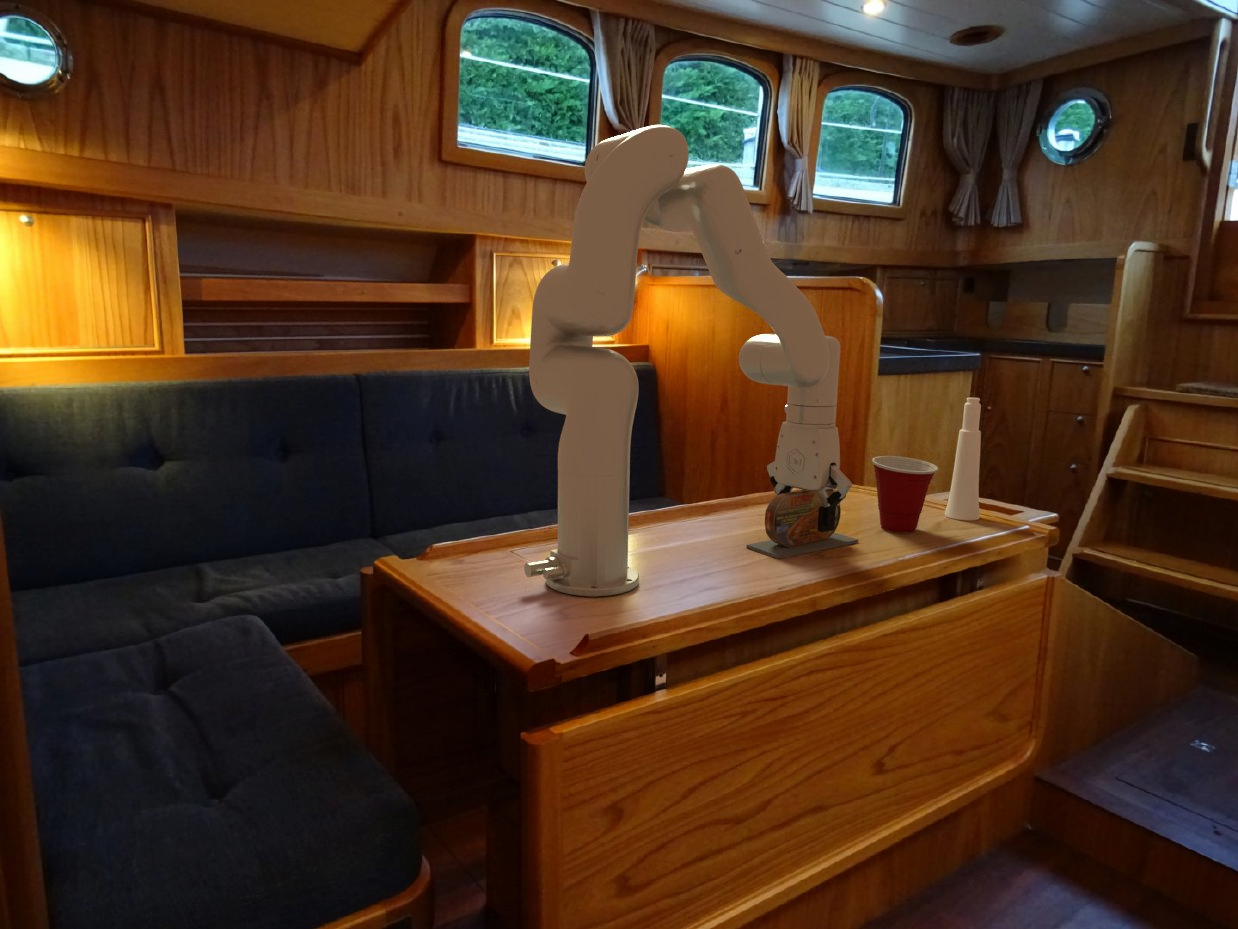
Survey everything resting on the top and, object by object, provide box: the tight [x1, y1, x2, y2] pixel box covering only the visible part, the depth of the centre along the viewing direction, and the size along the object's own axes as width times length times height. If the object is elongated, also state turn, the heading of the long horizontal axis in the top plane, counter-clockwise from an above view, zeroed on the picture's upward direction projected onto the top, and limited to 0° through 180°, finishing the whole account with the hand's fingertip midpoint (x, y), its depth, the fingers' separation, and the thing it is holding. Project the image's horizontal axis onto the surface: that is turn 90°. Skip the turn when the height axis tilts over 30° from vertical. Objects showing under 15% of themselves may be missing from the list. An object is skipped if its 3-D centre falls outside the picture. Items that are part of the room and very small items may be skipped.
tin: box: [764, 489, 841, 547], centre depth 136 cm, size 15×3×8 cm, turn 124°
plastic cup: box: [871, 455, 939, 534], centre depth 146 cm, size 11×11×12 cm
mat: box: [745, 531, 859, 560], centre depth 136 cm, size 18×7×1 cm, turn 124°
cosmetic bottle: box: [944, 397, 982, 522], centre depth 155 cm, size 6×6×22 cm
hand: (804, 523), depth 136 cm, fingers open, 8 cm apart
